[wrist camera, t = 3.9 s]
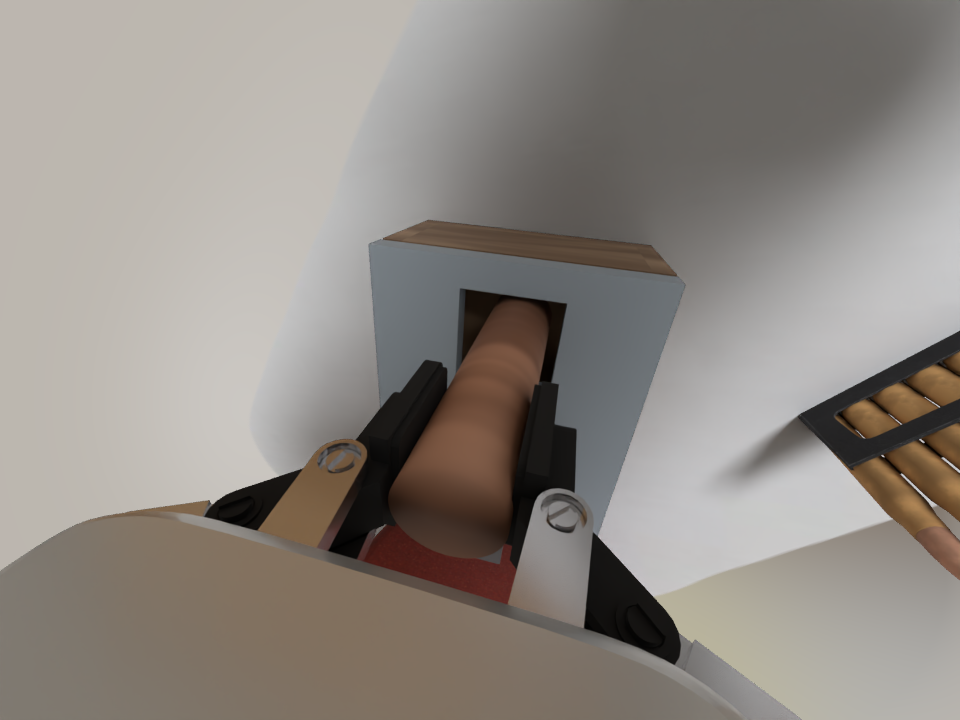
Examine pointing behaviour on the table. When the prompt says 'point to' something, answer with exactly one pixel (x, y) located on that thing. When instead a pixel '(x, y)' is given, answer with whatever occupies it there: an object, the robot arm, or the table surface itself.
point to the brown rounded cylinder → (475, 438)
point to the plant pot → (442, 565)
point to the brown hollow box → (535, 248)
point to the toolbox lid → (581, 350)
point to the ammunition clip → (904, 442)
